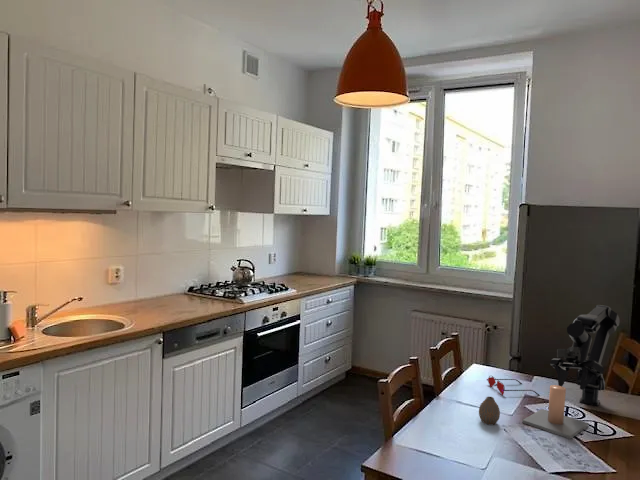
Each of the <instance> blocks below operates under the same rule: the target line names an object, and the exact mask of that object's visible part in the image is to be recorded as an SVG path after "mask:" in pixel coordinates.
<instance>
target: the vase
mask: <svg viewBox="0 0 640 480" xmlns="http://www.w3.org/2000/svg"><path fill="white" fill-rule="evenodd" d="M478 417H479V418H480V421H482V423H483V424H484V425H485V424H486V425H489V426H493V425H495V424H497V422H498V421H499V419H500V417H501V410H500V407H499V405H498V404H497V402H496V401H495V398H494V397H493V396H486V397H485V398H484V400H483V401H482V402H481V403H480V405H479V407H478Z"/></svg>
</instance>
